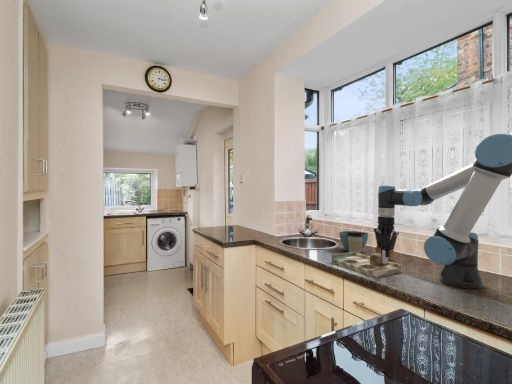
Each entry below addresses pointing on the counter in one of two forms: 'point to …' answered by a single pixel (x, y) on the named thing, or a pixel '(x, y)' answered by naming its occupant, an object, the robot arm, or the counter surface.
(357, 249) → the coffee cup
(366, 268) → the compartment tray
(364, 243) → the plant pot
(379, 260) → the block
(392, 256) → the onion
